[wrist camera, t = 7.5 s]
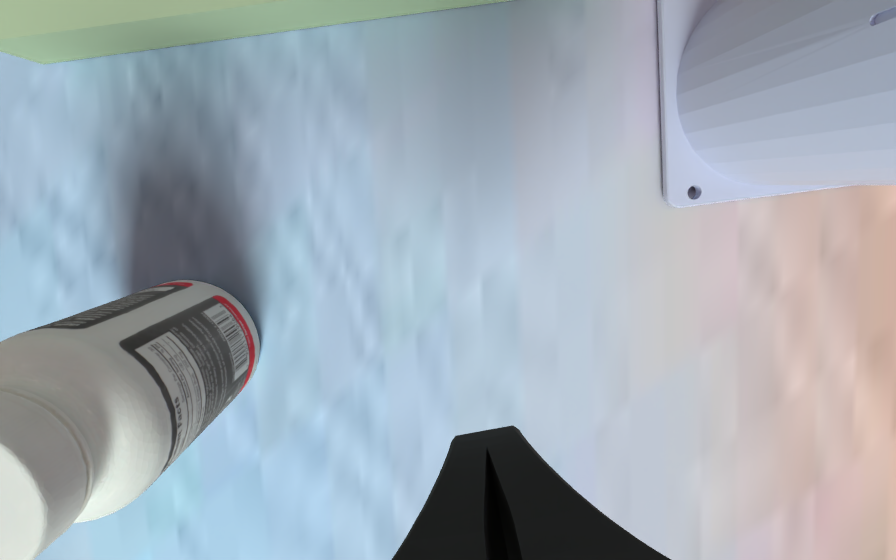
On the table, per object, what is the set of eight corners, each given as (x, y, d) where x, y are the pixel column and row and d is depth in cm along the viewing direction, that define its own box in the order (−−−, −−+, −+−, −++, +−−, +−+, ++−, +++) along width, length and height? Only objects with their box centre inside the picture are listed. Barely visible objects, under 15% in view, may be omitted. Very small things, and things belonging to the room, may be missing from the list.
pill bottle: (119, 381, 19) (-209, 578, 9) (144, 259, 18) (-194, 343, 8) (247, 418, 19) (56, 644, 10) (278, 301, 18) (100, 427, 9)
